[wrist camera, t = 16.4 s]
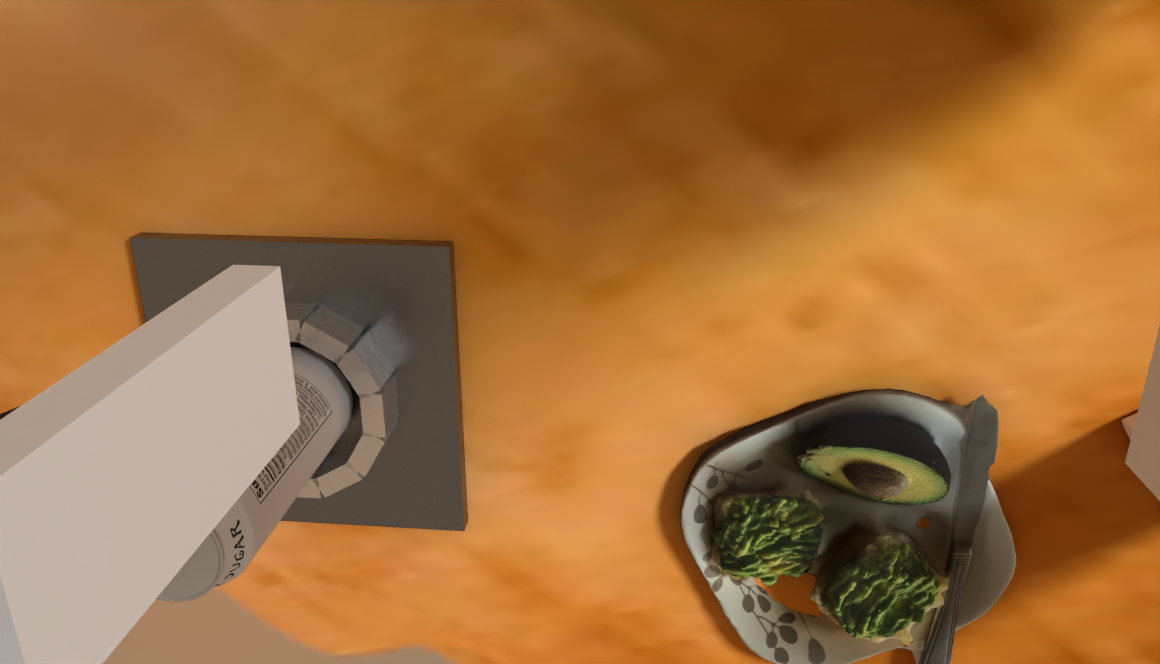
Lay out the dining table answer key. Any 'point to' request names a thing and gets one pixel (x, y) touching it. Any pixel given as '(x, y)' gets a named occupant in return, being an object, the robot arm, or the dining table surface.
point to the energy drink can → (271, 480)
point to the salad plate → (854, 526)
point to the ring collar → (355, 362)
